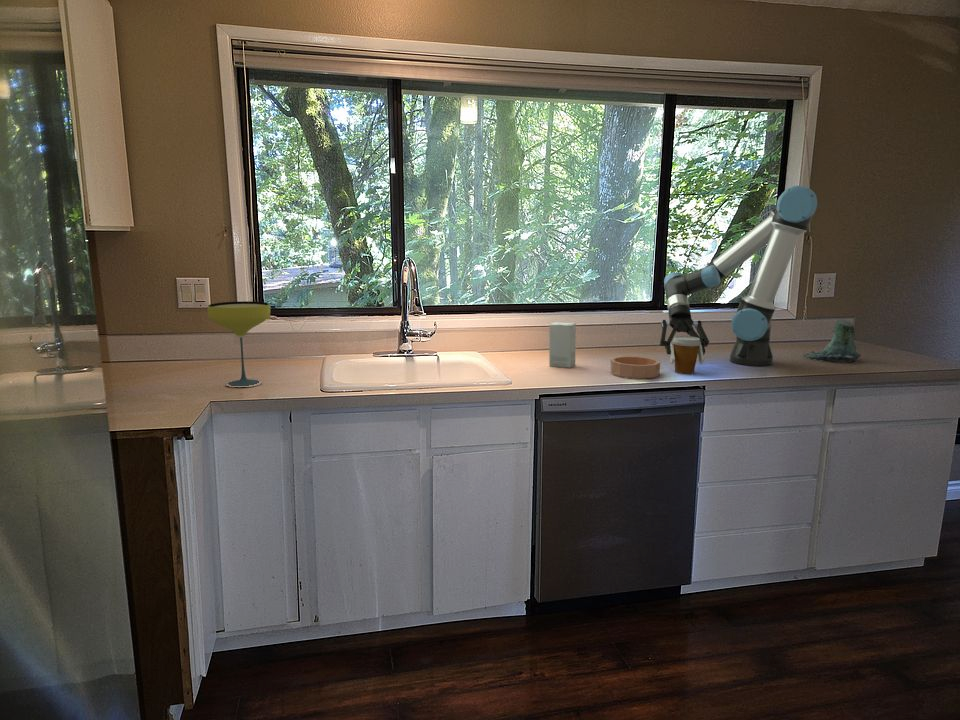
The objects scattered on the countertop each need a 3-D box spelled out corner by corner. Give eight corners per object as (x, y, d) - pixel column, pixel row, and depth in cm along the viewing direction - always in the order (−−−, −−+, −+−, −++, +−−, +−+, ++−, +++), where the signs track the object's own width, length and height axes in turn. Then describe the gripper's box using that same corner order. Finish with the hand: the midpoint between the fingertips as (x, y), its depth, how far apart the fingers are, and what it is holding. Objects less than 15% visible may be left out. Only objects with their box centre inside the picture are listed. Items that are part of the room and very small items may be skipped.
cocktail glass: (203, 391, 200) (197, 307, 195) (225, 377, 218) (220, 301, 213) (263, 391, 200) (259, 308, 195) (281, 378, 218) (277, 301, 213)
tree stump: (829, 354, 273) (845, 313, 266) (867, 375, 255) (884, 332, 248) (793, 353, 267) (807, 311, 260) (829, 376, 250) (845, 331, 243)
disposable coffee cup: (700, 375, 228) (703, 341, 225) (671, 374, 230) (673, 339, 227) (697, 370, 237) (699, 336, 234) (669, 368, 239) (671, 335, 236)
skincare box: (575, 365, 243) (577, 322, 240) (570, 368, 237) (571, 325, 234) (553, 363, 246) (555, 321, 243) (547, 366, 240) (549, 323, 237)
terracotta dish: (653, 369, 238) (653, 356, 237) (663, 379, 222) (664, 365, 221) (607, 368, 238) (607, 355, 237) (614, 378, 222) (615, 365, 221)
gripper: (706, 316, 244) (716, 368, 232) (646, 315, 245) (653, 367, 233) (712, 303, 238) (722, 356, 226) (650, 302, 239) (657, 354, 226)
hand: (687, 361), depth 229 cm, fingers closed on disposable coffee cup, 9 cm apart
